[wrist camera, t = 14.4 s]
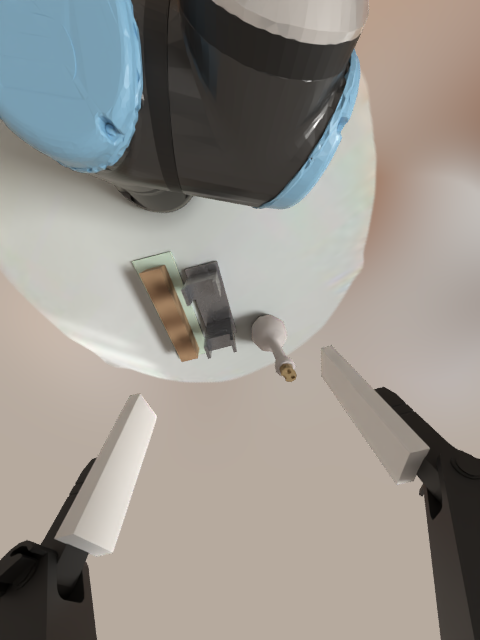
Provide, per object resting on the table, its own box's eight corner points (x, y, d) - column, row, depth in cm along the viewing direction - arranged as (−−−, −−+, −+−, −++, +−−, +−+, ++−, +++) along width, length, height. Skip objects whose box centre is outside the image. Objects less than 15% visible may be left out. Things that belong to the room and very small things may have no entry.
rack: (185, 269, 39) (174, 282, 29) (216, 260, 38) (216, 271, 29) (210, 337, 47) (208, 364, 38) (236, 330, 47) (240, 356, 38)
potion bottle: (263, 345, 50) (284, 401, 34) (242, 325, 46) (254, 377, 30) (288, 326, 48) (323, 375, 32) (269, 303, 44) (297, 346, 28)
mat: (133, 261, 37) (131, 261, 36) (170, 251, 37) (170, 251, 36) (180, 358, 49) (180, 359, 48) (209, 350, 49) (209, 352, 48)
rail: (146, 269, 37) (138, 273, 34) (165, 264, 37) (159, 268, 34) (184, 352, 48) (181, 362, 44) (199, 348, 47) (197, 358, 44)
